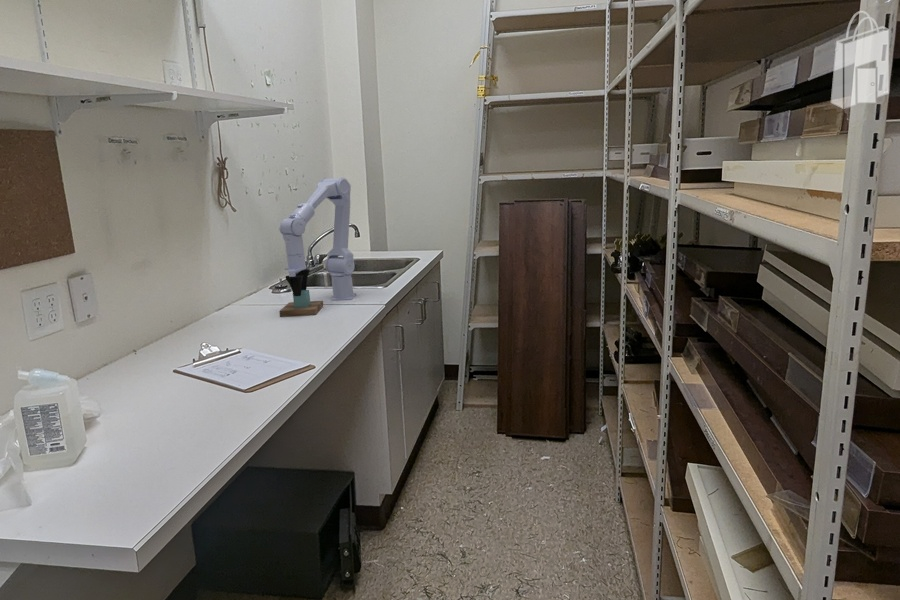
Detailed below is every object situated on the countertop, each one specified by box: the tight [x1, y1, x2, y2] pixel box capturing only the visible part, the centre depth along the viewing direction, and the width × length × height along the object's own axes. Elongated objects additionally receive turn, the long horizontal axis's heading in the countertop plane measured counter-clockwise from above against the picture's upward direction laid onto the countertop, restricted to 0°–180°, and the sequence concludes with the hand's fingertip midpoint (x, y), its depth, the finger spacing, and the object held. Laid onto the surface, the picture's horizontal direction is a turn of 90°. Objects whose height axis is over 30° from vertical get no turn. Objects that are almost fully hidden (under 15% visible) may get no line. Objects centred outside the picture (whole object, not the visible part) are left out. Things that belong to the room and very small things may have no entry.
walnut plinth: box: [278, 300, 324, 318], centre depth 198 cm, size 12×12×2 cm
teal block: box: [292, 289, 311, 308], centre depth 197 cm, size 4×4×5 cm
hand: (300, 293), depth 197 cm, fingers open, 7 cm apart
